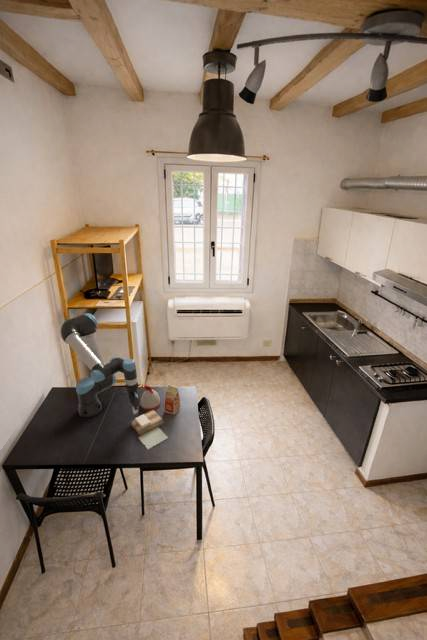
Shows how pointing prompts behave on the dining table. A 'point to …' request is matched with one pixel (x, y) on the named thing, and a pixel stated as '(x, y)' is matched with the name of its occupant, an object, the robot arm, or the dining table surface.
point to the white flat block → (143, 421)
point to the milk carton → (172, 400)
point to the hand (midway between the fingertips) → (135, 412)
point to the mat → (153, 438)
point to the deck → (155, 422)
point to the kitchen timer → (150, 399)
